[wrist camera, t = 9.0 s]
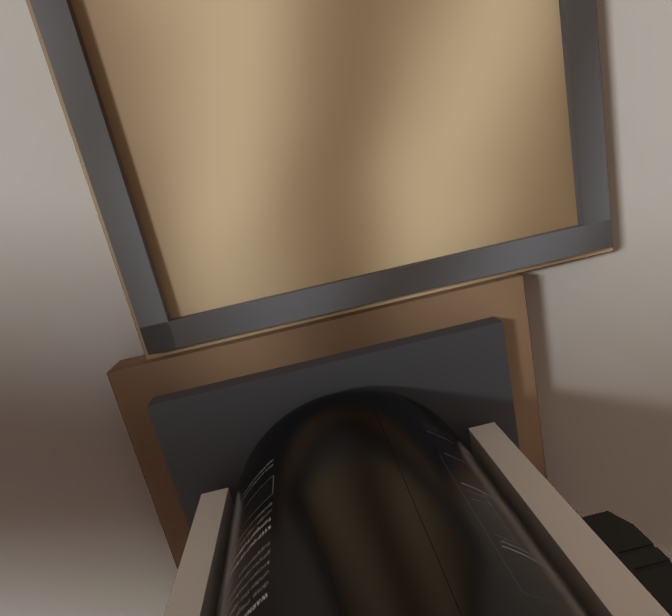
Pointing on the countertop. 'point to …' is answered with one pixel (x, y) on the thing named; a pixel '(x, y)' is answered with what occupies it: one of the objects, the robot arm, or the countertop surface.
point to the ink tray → (311, 343)
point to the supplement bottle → (378, 522)
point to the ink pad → (326, 378)
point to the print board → (327, 150)
